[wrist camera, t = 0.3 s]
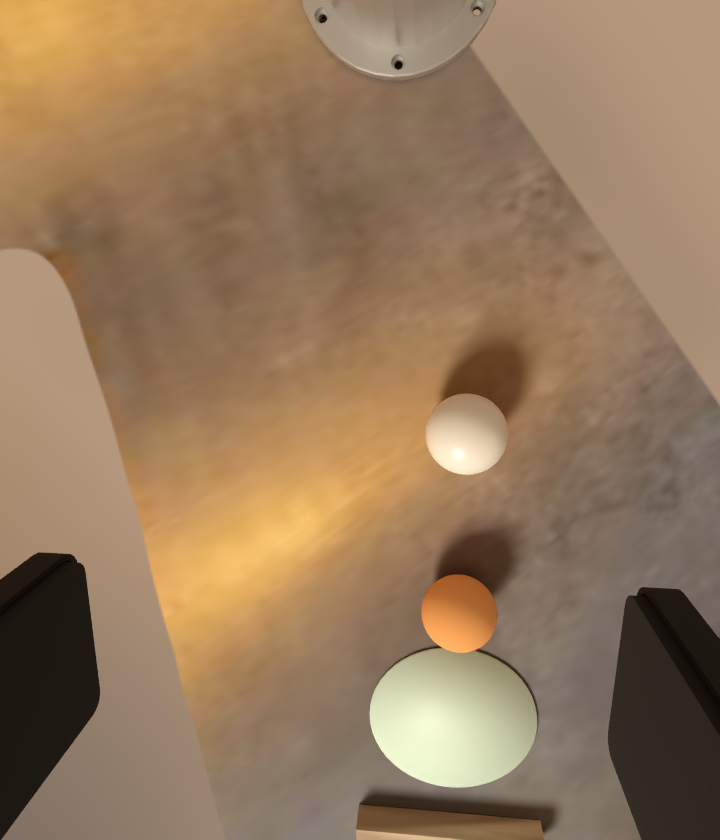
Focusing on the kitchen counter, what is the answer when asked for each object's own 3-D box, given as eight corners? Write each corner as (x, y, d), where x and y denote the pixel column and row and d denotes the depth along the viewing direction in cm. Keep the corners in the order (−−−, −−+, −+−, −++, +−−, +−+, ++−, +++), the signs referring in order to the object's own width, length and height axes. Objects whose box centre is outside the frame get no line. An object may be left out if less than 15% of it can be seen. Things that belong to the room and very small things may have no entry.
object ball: (422, 559, 47) (422, 598, 42) (494, 562, 46) (503, 602, 41) (421, 621, 49) (420, 666, 43) (491, 625, 48) (499, 671, 43)
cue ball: (426, 385, 43) (426, 403, 38) (504, 386, 43) (516, 404, 37) (424, 458, 45) (424, 485, 39) (500, 460, 44) (511, 488, 39)
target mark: (369, 642, 50) (369, 643, 49) (542, 652, 48) (543, 654, 48) (370, 778, 53) (370, 780, 53) (531, 792, 52) (531, 793, 52)
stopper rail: (359, 804, 54) (356, 829, 52) (540, 820, 52) (545, 847, 50) (359, 821, 55) (356, 847, 52) (538, 838, 53) (544, 865, 51)
